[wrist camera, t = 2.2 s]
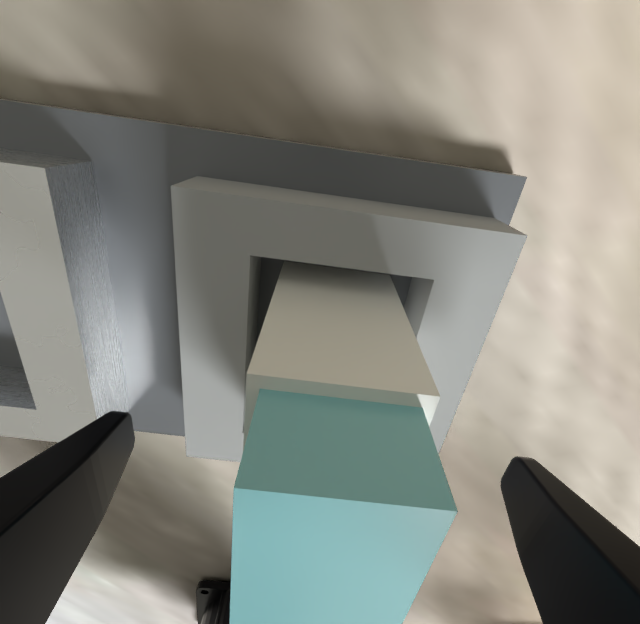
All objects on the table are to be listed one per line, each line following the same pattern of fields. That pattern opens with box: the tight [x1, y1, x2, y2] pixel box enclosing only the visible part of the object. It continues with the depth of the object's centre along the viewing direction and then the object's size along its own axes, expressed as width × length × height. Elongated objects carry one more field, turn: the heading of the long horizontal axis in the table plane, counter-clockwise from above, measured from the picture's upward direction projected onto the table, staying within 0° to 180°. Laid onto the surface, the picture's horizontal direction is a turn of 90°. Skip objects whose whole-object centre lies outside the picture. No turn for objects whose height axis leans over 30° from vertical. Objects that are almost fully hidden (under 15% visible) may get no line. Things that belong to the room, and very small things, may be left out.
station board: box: [0, 98, 527, 436], centre depth 13 cm, size 22×12×1 cm, turn 82°
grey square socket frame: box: [171, 176, 527, 462], centre depth 12 cm, size 9×10×2 cm
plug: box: [229, 261, 458, 624], centre depth 9 cm, size 4×5×8 cm
